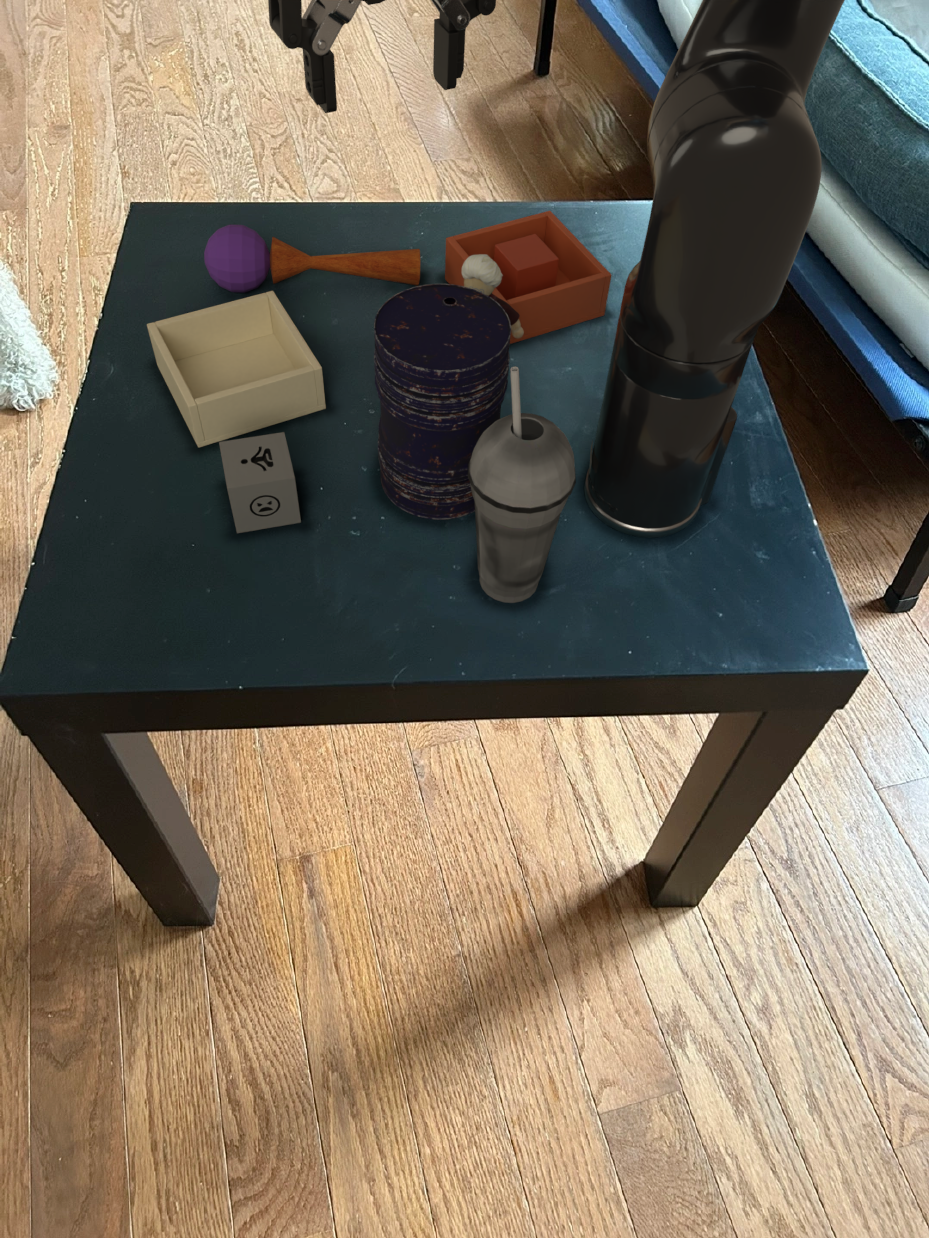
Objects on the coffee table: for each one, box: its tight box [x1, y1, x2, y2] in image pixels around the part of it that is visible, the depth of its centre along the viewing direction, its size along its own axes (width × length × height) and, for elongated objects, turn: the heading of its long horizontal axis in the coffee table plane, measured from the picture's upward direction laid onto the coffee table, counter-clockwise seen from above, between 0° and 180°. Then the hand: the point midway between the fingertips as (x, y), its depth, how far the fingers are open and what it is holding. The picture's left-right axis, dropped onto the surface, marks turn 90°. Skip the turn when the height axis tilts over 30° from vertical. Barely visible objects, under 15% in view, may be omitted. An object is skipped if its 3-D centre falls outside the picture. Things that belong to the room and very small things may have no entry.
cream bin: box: [146, 290, 327, 448], centre depth 86 cm, size 11×11×4 cm
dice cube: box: [218, 431, 302, 534], centre depth 77 cm, size 5×5×5 cm
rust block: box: [494, 234, 559, 301], centre depth 94 cm, size 4×4×4 cm
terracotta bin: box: [444, 210, 613, 345], centre depth 95 cm, size 11×11×4 cm
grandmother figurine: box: [462, 254, 524, 339], centre depth 84 cm, size 8×4×13 cm, turn 91°
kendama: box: [203, 224, 421, 294], centre depth 94 cm, size 6×6×20 cm
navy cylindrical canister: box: [373, 283, 511, 521], centre depth 76 cm, size 10×10×15 cm
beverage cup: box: [468, 366, 577, 604], centre depth 68 cm, size 7×7×20 cm
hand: (386, 95), depth 66 cm, fingers open, 8 cm apart
